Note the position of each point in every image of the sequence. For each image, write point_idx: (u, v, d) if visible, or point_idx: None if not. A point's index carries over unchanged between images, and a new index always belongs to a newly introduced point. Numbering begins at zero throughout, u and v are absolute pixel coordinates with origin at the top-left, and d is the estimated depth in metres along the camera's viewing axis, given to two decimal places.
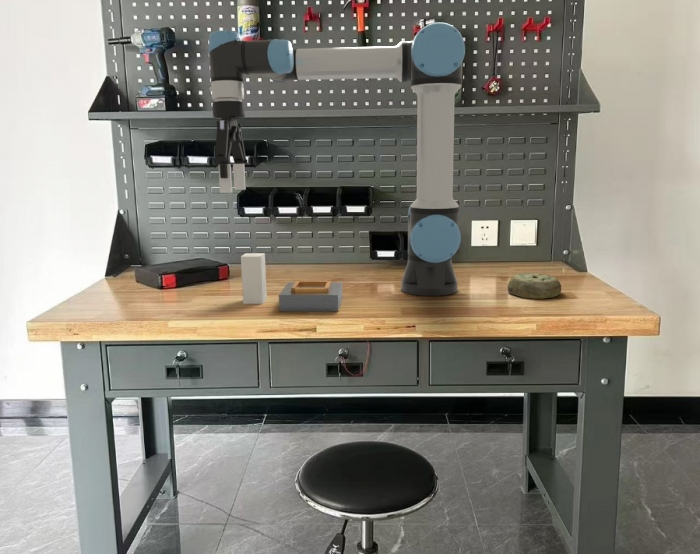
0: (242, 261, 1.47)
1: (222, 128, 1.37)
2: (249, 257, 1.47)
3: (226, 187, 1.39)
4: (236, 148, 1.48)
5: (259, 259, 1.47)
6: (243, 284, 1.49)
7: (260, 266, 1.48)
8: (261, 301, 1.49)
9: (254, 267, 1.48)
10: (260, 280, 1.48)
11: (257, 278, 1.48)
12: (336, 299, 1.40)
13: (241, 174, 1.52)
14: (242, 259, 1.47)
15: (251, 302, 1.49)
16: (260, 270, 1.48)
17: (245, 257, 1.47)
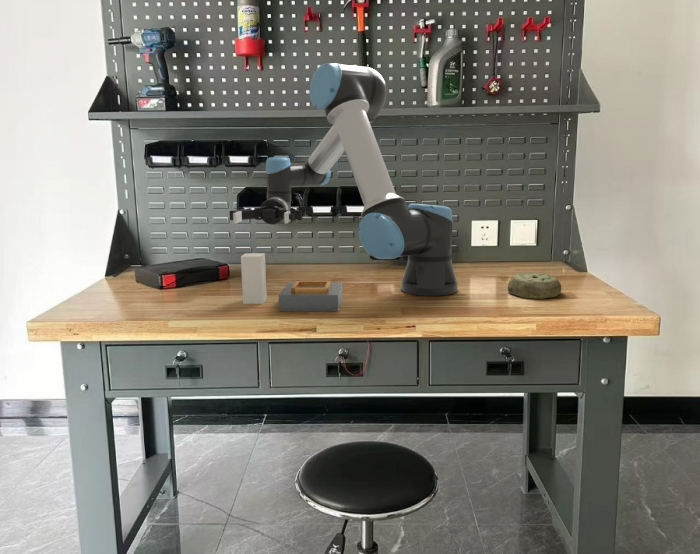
0: (242, 261, 1.47)
1: None
2: (249, 257, 1.47)
3: None
4: (282, 213, 1.68)
5: (259, 259, 1.47)
6: (243, 284, 1.49)
7: (260, 266, 1.48)
8: (261, 301, 1.49)
9: (254, 267, 1.48)
10: (260, 280, 1.48)
11: (257, 278, 1.48)
12: (336, 299, 1.40)
13: None
14: (242, 259, 1.47)
15: (251, 302, 1.49)
16: (260, 270, 1.48)
17: (245, 257, 1.47)
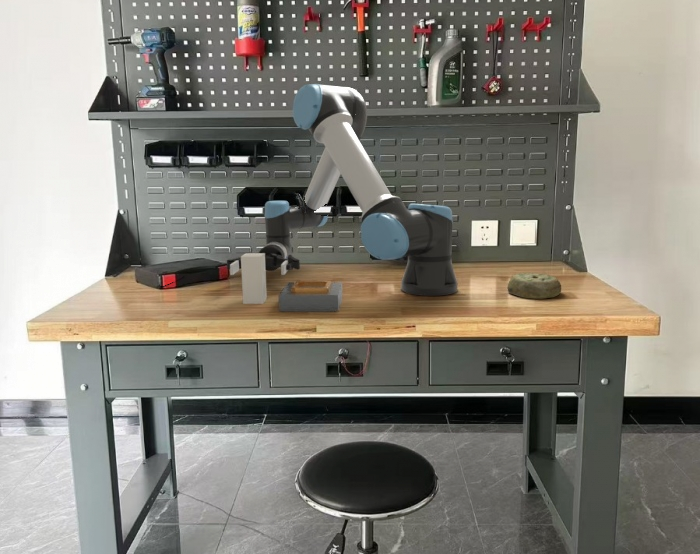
0: (242, 261, 1.47)
1: None
2: (249, 257, 1.47)
3: None
4: (280, 262, 1.67)
5: (259, 259, 1.47)
6: (243, 284, 1.49)
7: (260, 266, 1.48)
8: (261, 301, 1.49)
9: (254, 267, 1.48)
10: (260, 280, 1.48)
11: (257, 278, 1.48)
12: (336, 299, 1.40)
13: None
14: (242, 259, 1.47)
15: (251, 302, 1.49)
16: (260, 270, 1.48)
17: (245, 257, 1.47)
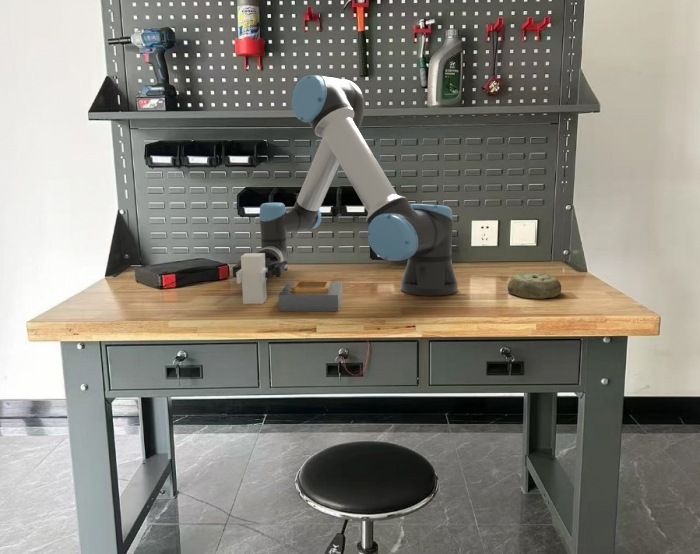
0: (242, 261, 1.47)
1: None
2: (249, 257, 1.47)
3: None
4: None
5: (259, 259, 1.47)
6: (243, 284, 1.49)
7: (260, 266, 1.48)
8: (261, 301, 1.49)
9: (254, 267, 1.48)
10: None
11: (257, 278, 1.48)
12: (336, 299, 1.40)
13: None
14: (242, 259, 1.47)
15: (251, 302, 1.49)
16: (260, 270, 1.48)
17: (245, 257, 1.47)
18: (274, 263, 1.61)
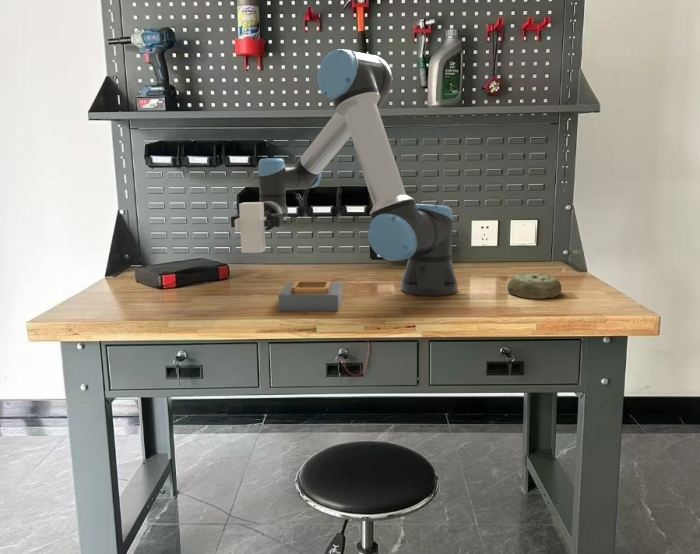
0: (240, 208, 1.45)
1: None
2: (247, 204, 1.45)
3: None
4: None
5: (258, 206, 1.45)
6: (241, 232, 1.46)
7: (259, 214, 1.45)
8: (260, 250, 1.47)
9: (253, 215, 1.45)
10: None
11: (255, 226, 1.46)
12: (336, 299, 1.40)
13: None
14: (240, 206, 1.45)
15: (250, 251, 1.47)
16: (259, 218, 1.45)
17: (243, 204, 1.45)
18: (273, 215, 1.58)
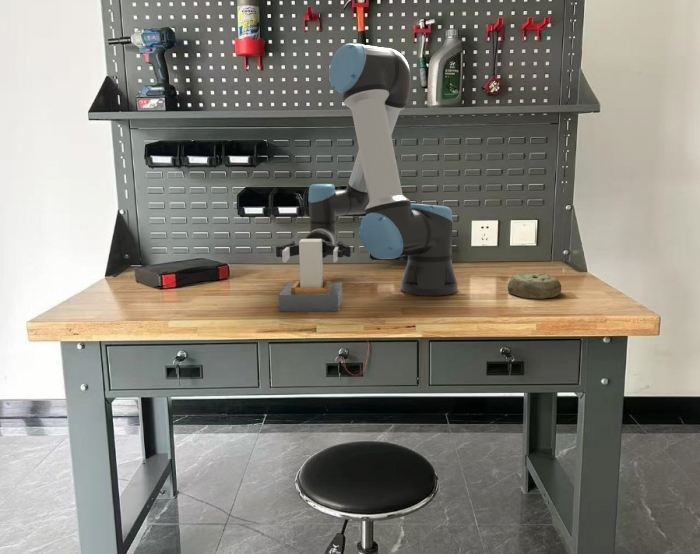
0: (300, 246, 1.43)
1: None
2: (307, 242, 1.43)
3: None
4: (329, 248, 1.52)
5: (318, 244, 1.43)
6: (301, 270, 1.44)
7: (319, 252, 1.43)
8: None
9: (313, 253, 1.43)
10: (318, 266, 1.44)
11: (315, 264, 1.44)
12: (336, 299, 1.40)
13: None
14: (300, 244, 1.43)
15: None
16: (319, 256, 1.43)
17: (303, 242, 1.43)
18: (330, 244, 1.56)
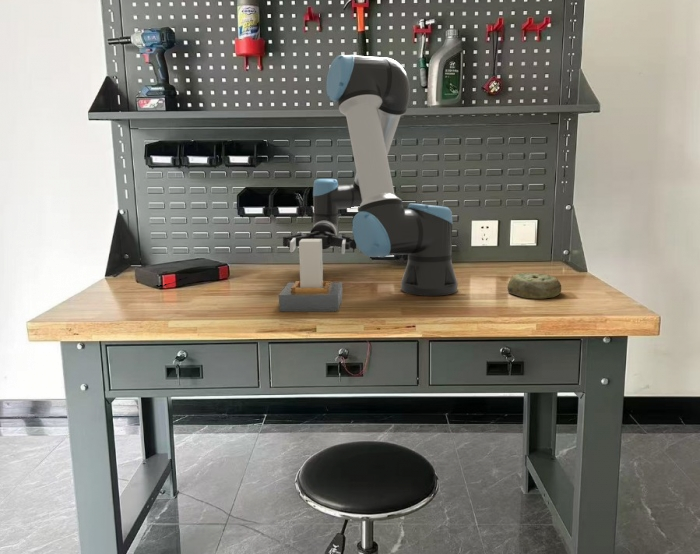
0: (300, 246, 1.43)
1: None
2: (307, 242, 1.43)
3: None
4: (335, 240, 1.66)
5: (318, 244, 1.43)
6: (301, 270, 1.44)
7: (319, 252, 1.43)
8: None
9: (313, 253, 1.43)
10: (318, 266, 1.44)
11: (315, 264, 1.44)
12: (336, 299, 1.40)
13: None
14: (300, 244, 1.43)
15: None
16: (319, 256, 1.43)
17: (303, 242, 1.43)
18: None
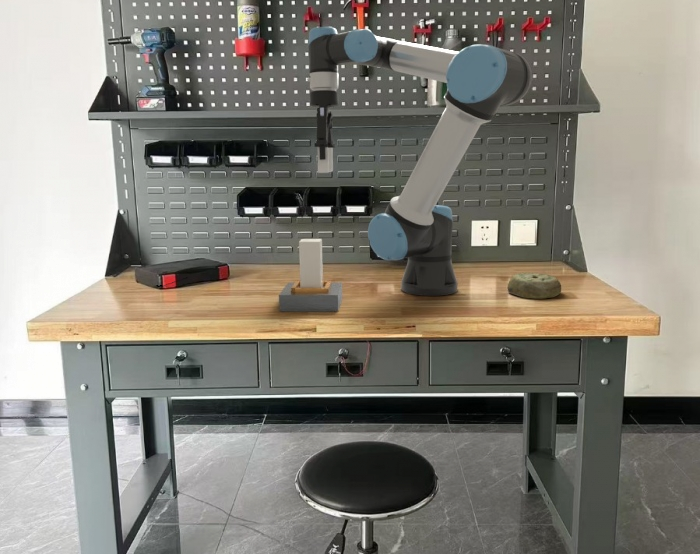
0: (300, 246, 1.43)
1: (322, 114, 1.53)
2: (307, 242, 1.43)
3: (324, 168, 1.55)
4: (327, 133, 1.64)
5: (318, 244, 1.43)
6: (301, 270, 1.44)
7: (319, 252, 1.43)
8: None
9: (313, 253, 1.43)
10: (318, 266, 1.44)
11: (315, 264, 1.44)
12: (336, 299, 1.40)
13: (330, 157, 1.68)
14: (300, 244, 1.43)
15: None
16: (319, 256, 1.43)
17: (303, 242, 1.43)
18: None
